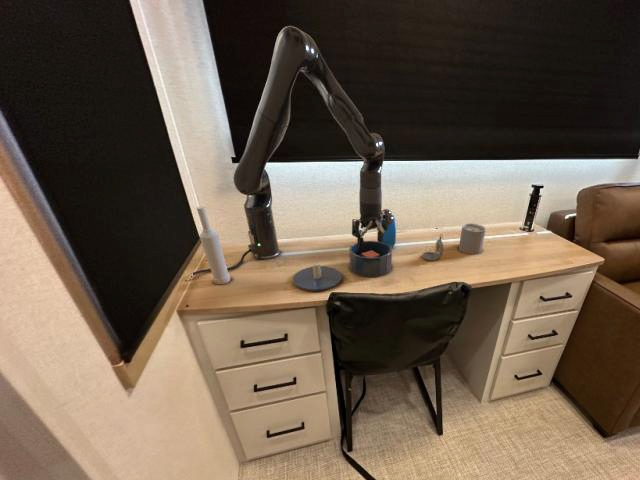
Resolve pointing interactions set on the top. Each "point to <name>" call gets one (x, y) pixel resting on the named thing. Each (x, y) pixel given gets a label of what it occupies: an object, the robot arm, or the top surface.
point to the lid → (317, 277)
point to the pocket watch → (439, 251)
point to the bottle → (213, 250)
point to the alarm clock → (389, 229)
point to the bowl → (370, 259)
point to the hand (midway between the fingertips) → (370, 244)
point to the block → (370, 254)
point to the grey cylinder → (472, 238)
